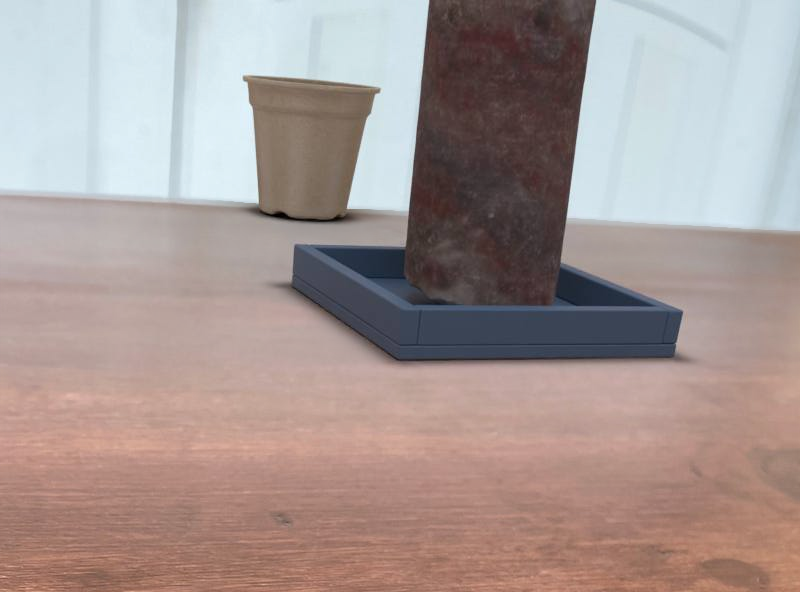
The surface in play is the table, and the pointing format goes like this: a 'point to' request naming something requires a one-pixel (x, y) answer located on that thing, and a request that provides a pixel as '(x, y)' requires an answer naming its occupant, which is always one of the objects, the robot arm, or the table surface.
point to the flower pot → (307, 143)
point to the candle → (496, 149)
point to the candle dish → (481, 312)
